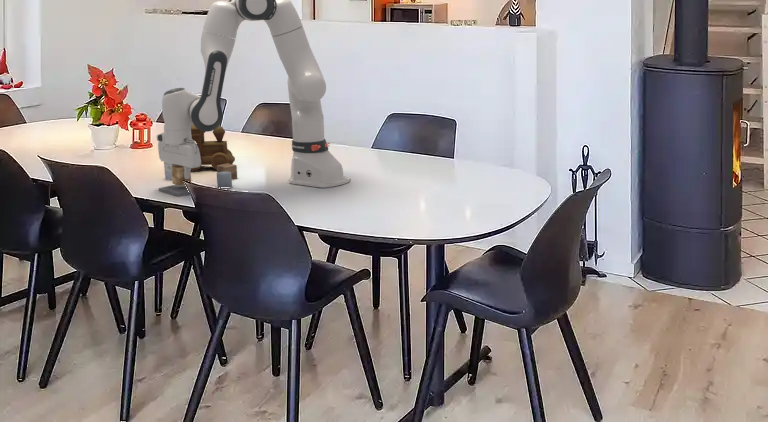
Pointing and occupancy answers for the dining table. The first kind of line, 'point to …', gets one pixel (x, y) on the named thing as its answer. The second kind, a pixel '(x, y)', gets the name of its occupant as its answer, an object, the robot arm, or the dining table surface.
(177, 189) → the charcoal mat
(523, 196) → the dining table surface
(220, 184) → the blue-grey cube
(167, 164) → the medicine box
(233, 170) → the walnut cube
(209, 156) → the wooden toy train
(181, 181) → the oak block
